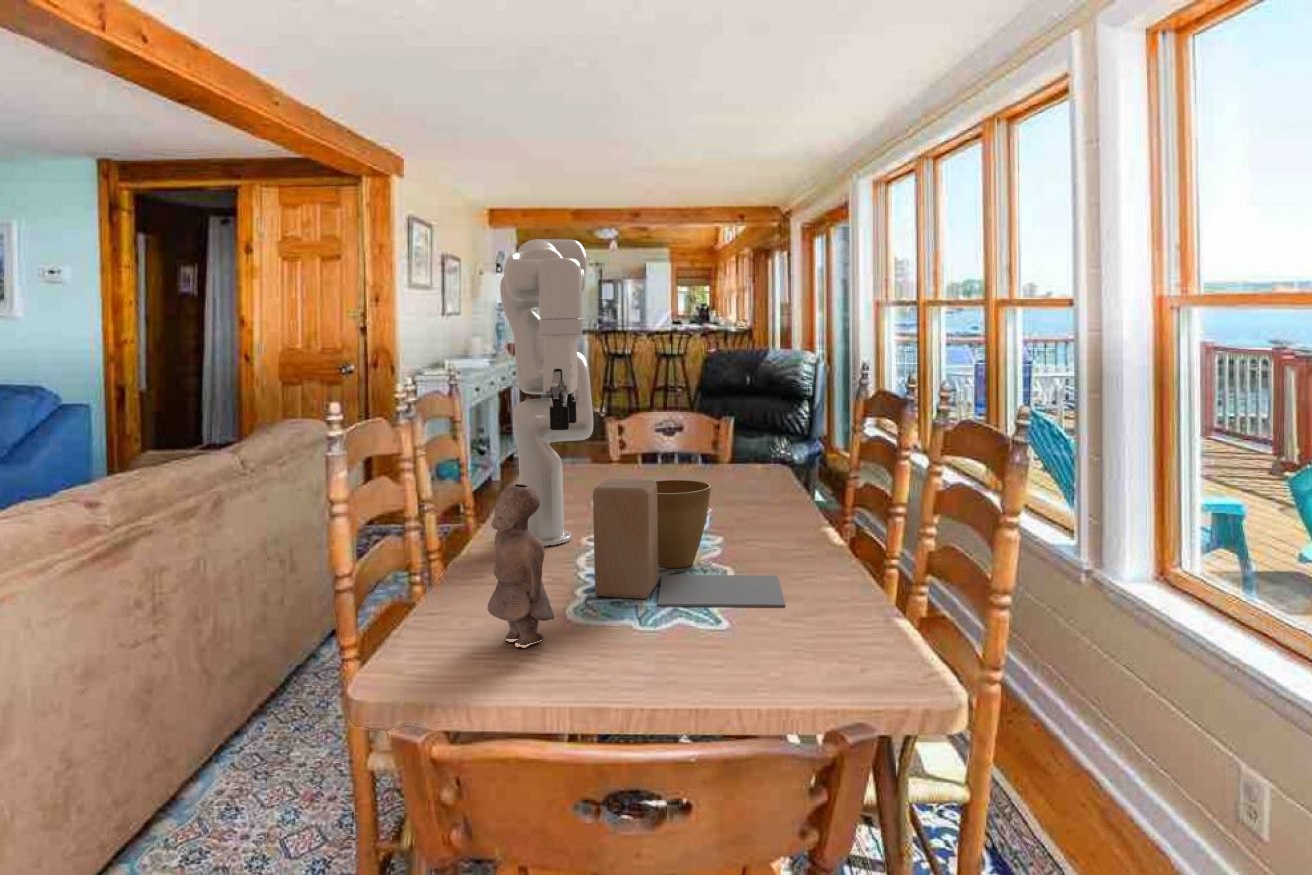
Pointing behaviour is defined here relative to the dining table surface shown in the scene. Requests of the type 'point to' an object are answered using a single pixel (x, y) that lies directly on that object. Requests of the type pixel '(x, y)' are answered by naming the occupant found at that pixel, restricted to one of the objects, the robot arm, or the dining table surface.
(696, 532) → the plant pot
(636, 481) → the block
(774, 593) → the mat
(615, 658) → the dining table surface
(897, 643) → the dining table surface
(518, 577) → the clay figurine
